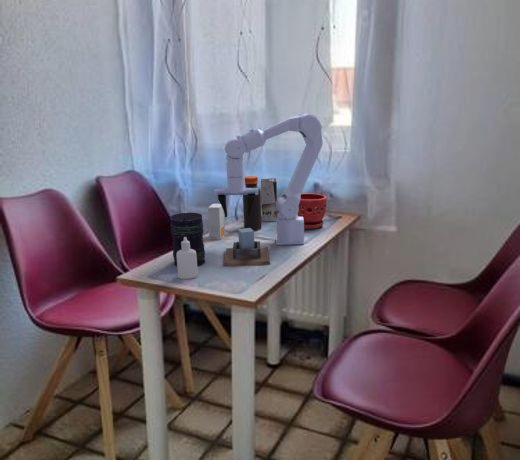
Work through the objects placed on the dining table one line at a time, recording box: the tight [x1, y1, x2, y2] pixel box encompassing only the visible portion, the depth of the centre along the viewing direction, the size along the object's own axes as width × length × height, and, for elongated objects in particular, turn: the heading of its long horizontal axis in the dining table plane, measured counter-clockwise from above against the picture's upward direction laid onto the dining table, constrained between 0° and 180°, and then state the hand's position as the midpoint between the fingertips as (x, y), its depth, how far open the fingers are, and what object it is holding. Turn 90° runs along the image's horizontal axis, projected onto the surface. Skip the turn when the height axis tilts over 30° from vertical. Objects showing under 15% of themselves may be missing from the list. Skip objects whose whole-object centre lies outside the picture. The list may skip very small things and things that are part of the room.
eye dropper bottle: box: [176, 237, 199, 280], centre depth 136 cm, size 4×6×12 cm
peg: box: [237, 228, 255, 249], centre depth 151 cm, size 4×4×8 cm
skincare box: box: [207, 203, 225, 241], centre depth 172 cm, size 6×4×12 cm
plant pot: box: [297, 192, 328, 230], centre depth 183 cm, size 13×13×12 cm
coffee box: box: [260, 178, 278, 222], centre depth 195 cm, size 9×6×16 cm
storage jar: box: [169, 212, 206, 268], centre depth 147 cm, size 10×10×15 cm
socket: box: [223, 240, 271, 267], centre depth 152 cm, size 14×14×4 cm
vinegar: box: [242, 175, 263, 232], centre depth 181 cm, size 7×7×20 cm
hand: (237, 215), depth 162 cm, fingers open, 7 cm apart
